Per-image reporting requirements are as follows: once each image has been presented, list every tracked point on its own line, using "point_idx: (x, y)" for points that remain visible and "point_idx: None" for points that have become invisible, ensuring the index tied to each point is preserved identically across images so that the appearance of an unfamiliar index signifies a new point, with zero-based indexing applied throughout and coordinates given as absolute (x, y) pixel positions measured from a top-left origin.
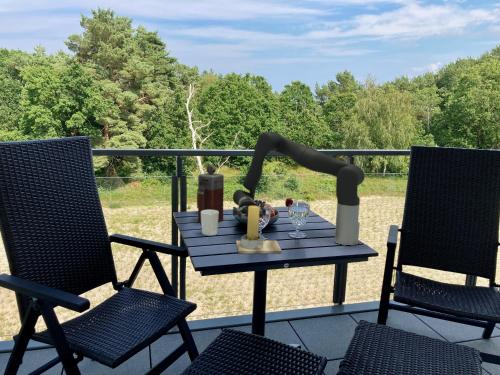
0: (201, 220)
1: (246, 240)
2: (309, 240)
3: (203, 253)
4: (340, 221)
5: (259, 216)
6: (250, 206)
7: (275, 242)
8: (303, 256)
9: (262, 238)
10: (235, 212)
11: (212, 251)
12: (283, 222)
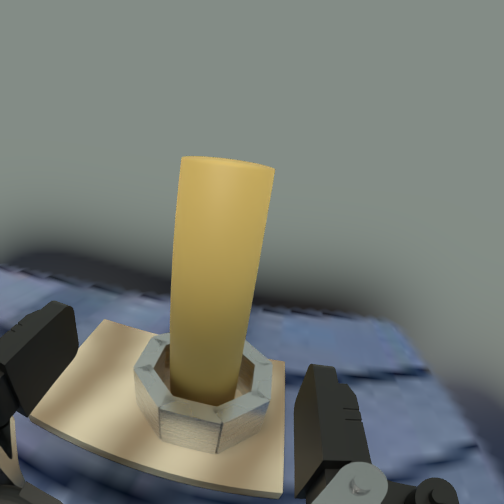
0: None
1: (251, 347)
2: None
3: (413, 387)
4: None
5: (56, 371)
6: (255, 168)
7: (53, 392)
8: (63, 290)
9: (155, 339)
10: (394, 492)
11: (389, 401)
12: None
